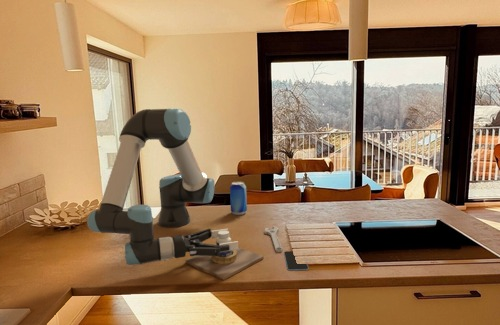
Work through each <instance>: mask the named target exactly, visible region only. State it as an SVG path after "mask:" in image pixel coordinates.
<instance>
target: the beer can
mask: <svg viewBox="0 0 500 325" xmlns="http://www.w3.org/2000/svg"><path fill="white" fill-rule="evenodd" d="M229 192H230V193H229V195H230V211H231V213H232V214H233V215H235V216H240V215H244V214H246V212H247V210H248V208H247V207H248V204H247V203H248V202H247V200H248V199H247V186H246V184H245V182H243V181H233V182H231V185H230V187H229Z"/></svg>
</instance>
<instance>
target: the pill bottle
mask: <svg viewBox="0 0 500 325" xmlns="http://www.w3.org/2000/svg"><path fill="white" fill-rule="evenodd" d="M228 242H232V238H231V237H230V231H219V232H218V238H216V242H215V243H216V244H215V245H219V244H222V243H228ZM230 255H232V250H231V251H225V252H220V255H219V257H227V256H230Z"/></svg>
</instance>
